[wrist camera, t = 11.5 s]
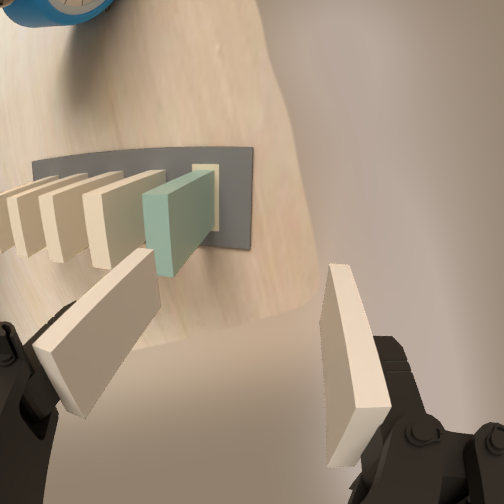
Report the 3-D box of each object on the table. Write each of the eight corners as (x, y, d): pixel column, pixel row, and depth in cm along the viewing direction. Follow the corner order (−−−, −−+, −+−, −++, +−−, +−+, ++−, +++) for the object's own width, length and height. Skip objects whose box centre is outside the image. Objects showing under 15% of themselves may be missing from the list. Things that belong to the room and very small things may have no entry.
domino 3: (114, 220, 28) (49, 261, 19) (110, 171, 26) (38, 196, 17) (127, 221, 28) (64, 263, 18) (123, 170, 26) (52, 195, 17)
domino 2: (82, 219, 28) (17, 256, 19) (77, 173, 26) (6, 198, 17) (92, 219, 28) (28, 257, 19) (88, 172, 26) (16, 197, 17)
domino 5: (214, 169, 25) (167, 194, 15) (214, 225, 27) (173, 277, 17) (196, 169, 25) (141, 194, 16) (197, 224, 27) (149, 274, 18)
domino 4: (153, 222, 27) (93, 267, 18) (149, 169, 25) (82, 194, 16) (168, 223, 27) (111, 269, 18) (165, 169, 25) (101, 194, 16)
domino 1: (54, 218, 29) (-7, 251, 20) (49, 176, 27) (-18, 200, 18) (63, 218, 29) (1, 253, 19) (58, 175, 27) (-10, 199, 18)
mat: (42, 232, 30) (41, 233, 30) (33, 161, 27) (31, 161, 26) (250, 248, 27) (249, 249, 27) (253, 147, 24) (252, 147, 23)
